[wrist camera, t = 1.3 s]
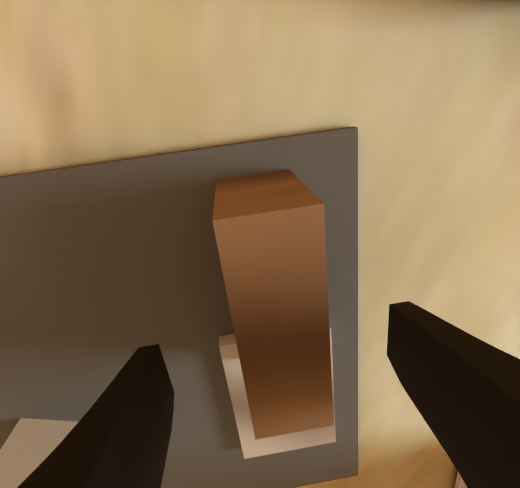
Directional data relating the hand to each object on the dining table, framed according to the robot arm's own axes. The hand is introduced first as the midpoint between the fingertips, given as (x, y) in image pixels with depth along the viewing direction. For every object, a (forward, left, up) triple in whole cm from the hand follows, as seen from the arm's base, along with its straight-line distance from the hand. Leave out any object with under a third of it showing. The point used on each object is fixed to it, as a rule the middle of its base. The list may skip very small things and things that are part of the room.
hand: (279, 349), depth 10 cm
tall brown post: (-2, 0, -3) cm, 3 cm away
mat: (-3, +7, -3) cm, 9 cm away
